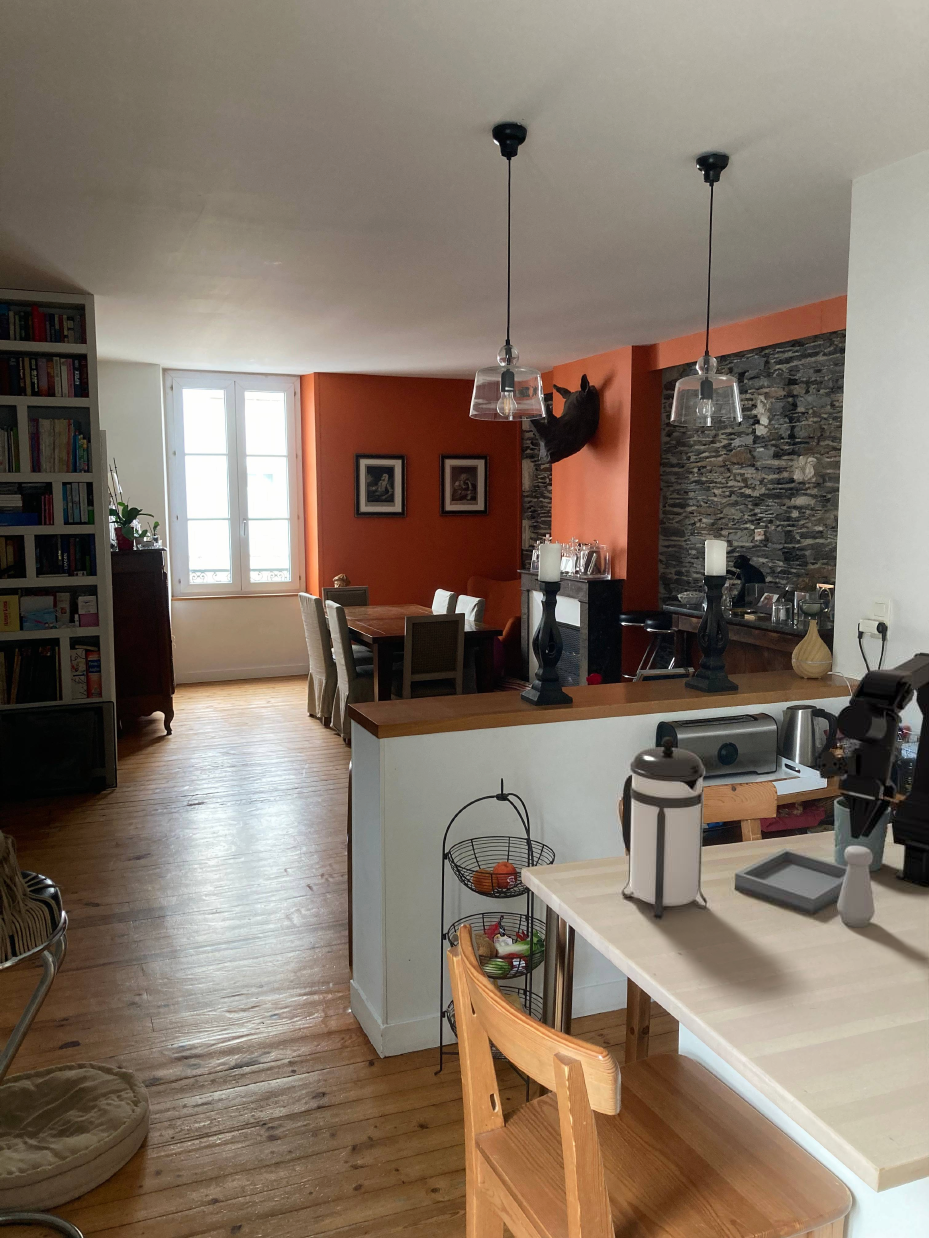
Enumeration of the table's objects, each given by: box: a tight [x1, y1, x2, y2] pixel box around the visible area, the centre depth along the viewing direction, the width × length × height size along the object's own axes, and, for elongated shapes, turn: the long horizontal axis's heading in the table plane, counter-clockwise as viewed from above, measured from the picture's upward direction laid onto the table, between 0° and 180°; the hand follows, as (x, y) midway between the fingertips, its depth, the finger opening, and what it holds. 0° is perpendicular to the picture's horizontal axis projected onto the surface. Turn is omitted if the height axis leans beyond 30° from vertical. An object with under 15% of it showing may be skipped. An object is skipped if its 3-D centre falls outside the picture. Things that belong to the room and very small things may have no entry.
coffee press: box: [621, 736, 708, 919], centre depth 162 cm, size 17×16×30 cm
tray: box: [734, 848, 847, 916], centre depth 168 cm, size 18×15×3 cm
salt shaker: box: [836, 846, 876, 928], centre depth 154 cm, size 6×6×13 cm
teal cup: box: [833, 796, 892, 872], centre depth 179 cm, size 10×10×12 cm
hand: (859, 837), depth 153 cm, fingers open, 9 cm apart
